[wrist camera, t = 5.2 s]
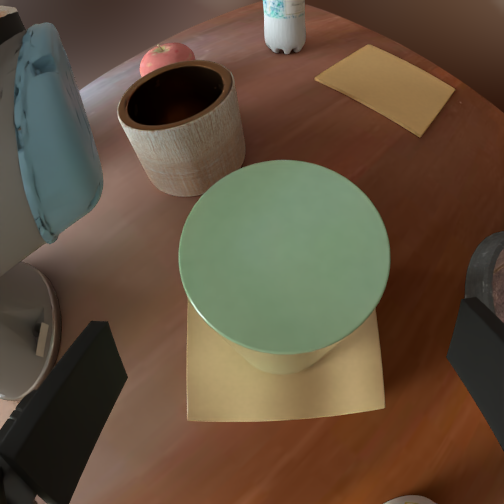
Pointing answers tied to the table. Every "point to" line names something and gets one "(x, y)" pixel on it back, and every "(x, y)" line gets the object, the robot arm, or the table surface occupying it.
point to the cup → (410, 500)
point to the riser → (281, 379)
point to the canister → (284, 262)
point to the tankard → (488, 274)
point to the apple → (165, 56)
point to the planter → (184, 126)
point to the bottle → (284, 25)
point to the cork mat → (389, 87)
